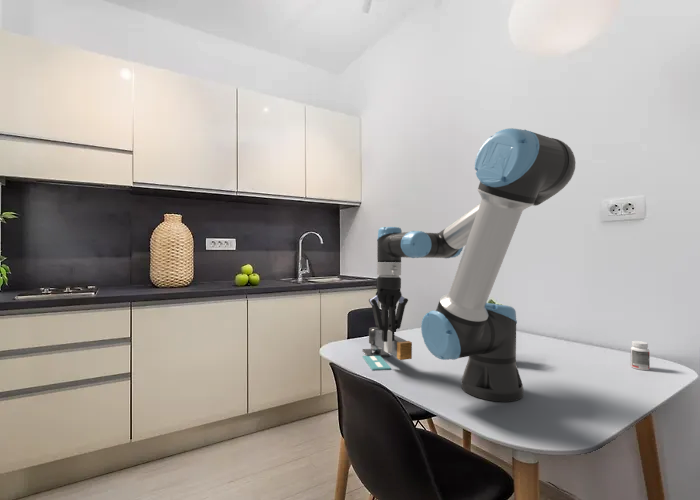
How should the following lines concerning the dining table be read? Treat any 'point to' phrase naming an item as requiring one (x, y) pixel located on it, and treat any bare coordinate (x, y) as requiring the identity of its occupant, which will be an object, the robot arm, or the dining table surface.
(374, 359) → the label
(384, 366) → the label
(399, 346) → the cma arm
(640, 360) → the pill bottle
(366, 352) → the grey square stand
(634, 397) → the dining table surface
